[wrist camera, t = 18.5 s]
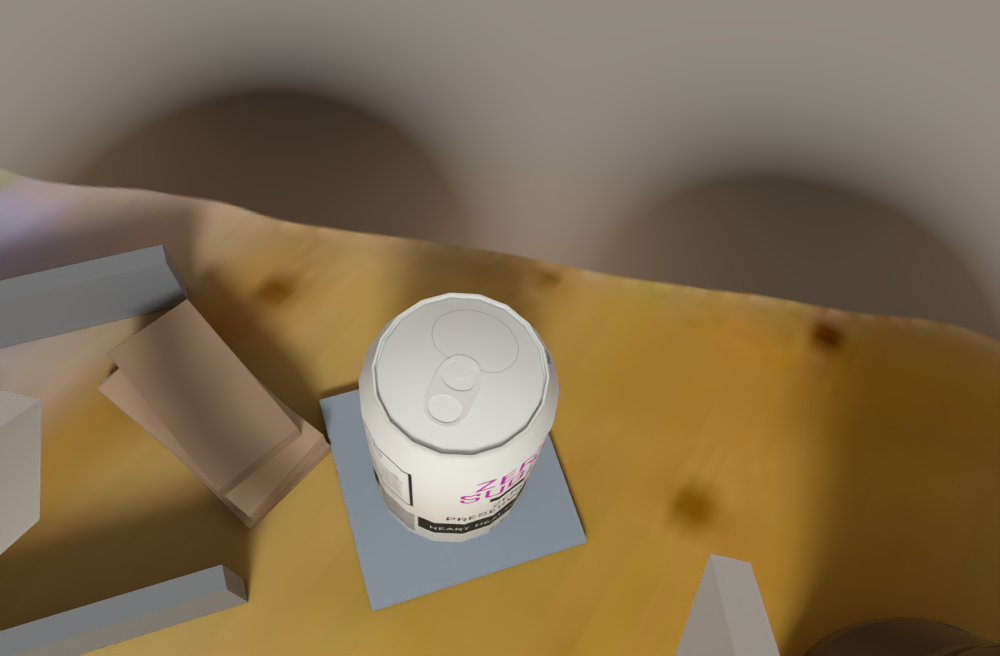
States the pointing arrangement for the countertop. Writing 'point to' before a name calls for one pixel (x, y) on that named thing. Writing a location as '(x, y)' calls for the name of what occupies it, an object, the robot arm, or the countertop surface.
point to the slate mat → (435, 564)
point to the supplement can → (456, 413)
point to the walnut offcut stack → (213, 413)
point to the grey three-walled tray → (72, 306)
